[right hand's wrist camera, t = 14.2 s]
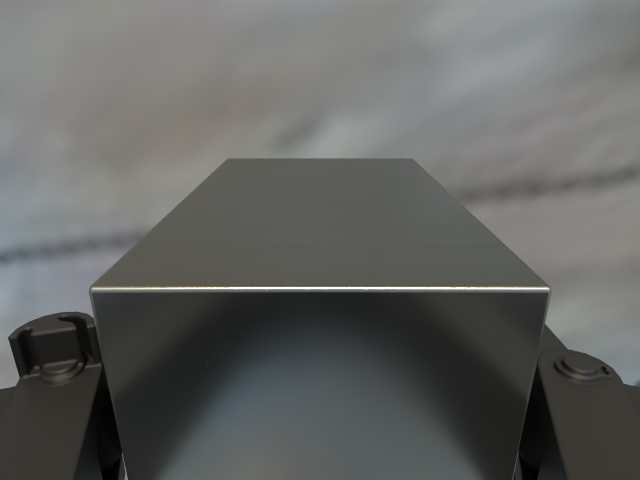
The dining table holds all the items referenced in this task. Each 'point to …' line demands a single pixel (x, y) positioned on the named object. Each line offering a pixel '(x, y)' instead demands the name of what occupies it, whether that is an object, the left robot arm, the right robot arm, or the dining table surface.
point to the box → (320, 330)
